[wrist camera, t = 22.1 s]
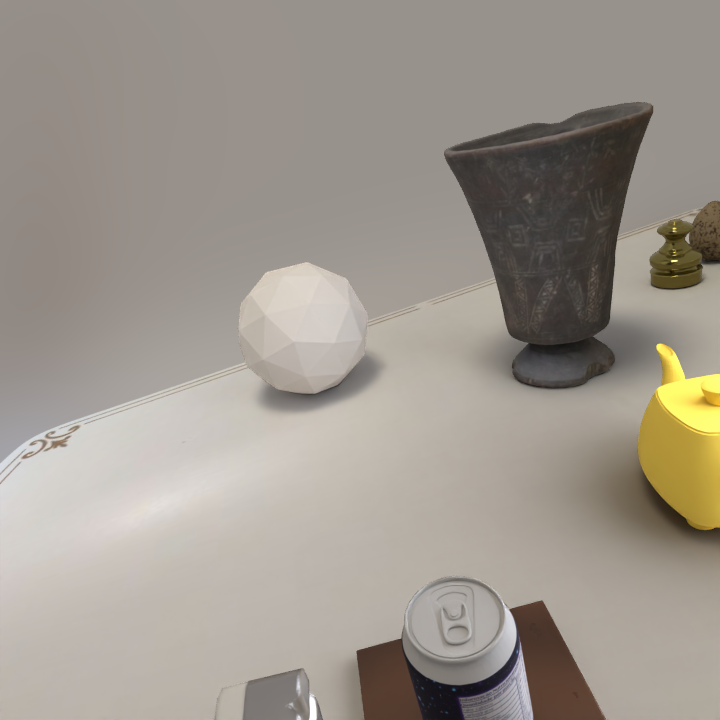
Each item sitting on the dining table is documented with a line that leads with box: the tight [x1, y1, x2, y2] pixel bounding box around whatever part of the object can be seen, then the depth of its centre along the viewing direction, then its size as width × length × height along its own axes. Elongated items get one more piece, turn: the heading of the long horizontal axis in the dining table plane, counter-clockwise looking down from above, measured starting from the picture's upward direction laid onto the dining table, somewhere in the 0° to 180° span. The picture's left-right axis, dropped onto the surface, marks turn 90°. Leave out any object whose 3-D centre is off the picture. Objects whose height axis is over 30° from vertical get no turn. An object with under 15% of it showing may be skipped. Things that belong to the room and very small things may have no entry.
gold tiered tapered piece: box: [650, 219, 703, 289], centre depth 88 cm, size 7×7×10 cm
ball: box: [238, 262, 368, 394], centre depth 83 cm, size 19×20×20 cm
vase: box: [444, 102, 653, 387], centre depth 67 cm, size 22×22×30 cm
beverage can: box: [401, 576, 534, 720], centre depth 29 cm, size 6×6×12 cm
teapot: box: [638, 344, 720, 530], centre depth 45 cm, size 18×11×11 cm, turn 178°
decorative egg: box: [689, 201, 720, 261], centre depth 93 cm, size 7×7×10 cm
